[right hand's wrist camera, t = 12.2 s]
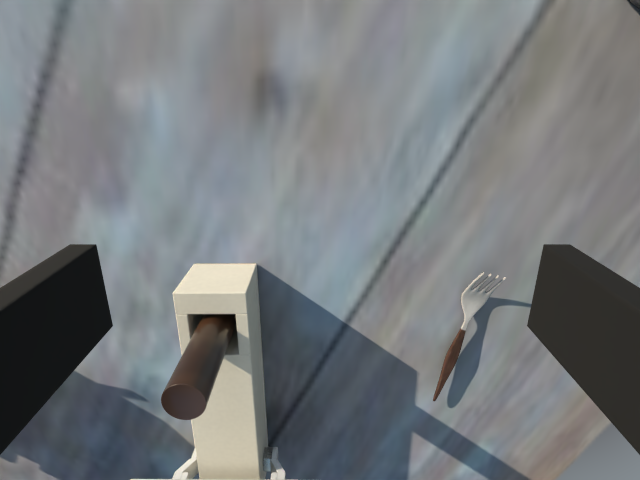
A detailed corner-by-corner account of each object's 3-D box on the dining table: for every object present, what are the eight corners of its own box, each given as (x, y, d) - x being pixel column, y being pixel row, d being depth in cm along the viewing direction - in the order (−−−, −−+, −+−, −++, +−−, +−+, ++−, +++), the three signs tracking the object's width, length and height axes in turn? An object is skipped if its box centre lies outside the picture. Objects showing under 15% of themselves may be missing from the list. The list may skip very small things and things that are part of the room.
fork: (420, 395, 44) (425, 409, 42) (473, 263, 39) (481, 272, 37) (443, 399, 44) (449, 413, 42) (499, 268, 39) (508, 278, 37)
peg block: (256, 263, 39) (245, 292, 33) (268, 454, 47) (261, 503, 42) (193, 263, 39) (172, 293, 33) (217, 454, 47) (202, 503, 42)
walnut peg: (242, 286, 40) (204, 384, 27) (244, 313, 41) (208, 420, 28) (211, 286, 40) (157, 384, 27) (214, 313, 41) (164, 420, 28)
